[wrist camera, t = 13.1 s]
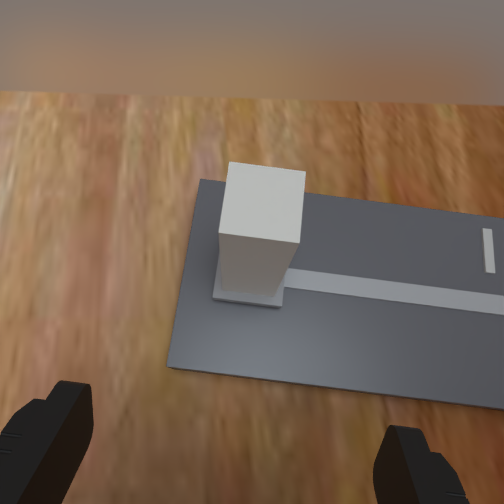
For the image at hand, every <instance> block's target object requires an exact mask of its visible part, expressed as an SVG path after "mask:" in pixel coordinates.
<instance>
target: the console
mask: <svg viewBox="0 0 504 504" xmlns="http://www.w3.org/2000/svg"><path fill="white" fill-rule="evenodd" d="M225 187H226V182H221V181H214V180H206V179H200V182H199V188H198V194H197V199H196V205H195V210H194V216H193V221H192V227H191V232H190V238H189V243H188V249H187V254H186V260H185V266H184V271H183V277H182V282H181V288H180V293H179V299H178V304H177V310H176V315H175V321H174V326H173V332H172V338H171V343H170V349H169V354H168V360H167V365H166V366H167V367H169V368H172V369H177V370H185V371H193V372H201V373H209V374H217V375H225V376H233V377H241V378H249V379H257V380H265V381H273V382H281V383H288V384H296V385H304V386H312V387H320V388H328V389H336V390H344V391H352V392H360V393H368V394H376V395H384V396H392V397H400V398H408V399H416V400H424V401H432V402H440V403H448V404H456V405H463V406H471V407H479V408H487V409H495V410H503V411H504V218H496V217H488V216H481V215H473V214H465V213H458V212H450V211H443V210H435V209H427V208H420V207H412V206H404V205H397V204H389V203H382V202H374V201H366V200H359V199H351V198H343V197H336V196H328V195H321V194H313V193H305V192H304V198H303V210H302V221H301V233H300V243H299V246H298V248H297V250H296V252H295V254H294V256H293V258H292V260H291V262H290V265H289V267H288V269H287V271H286V273H285V280H284V291H283V301H282V307H281V308H274V307H266V306H258V305H250V304H243V303H235V302H227V301H219V300H213V298H212V297H213V291H214V284H215V278H216V271H217V265H218V258H219V251H220V249H219V234H218V232H219V226H220V219H221V213H222V206H223V200H224V194H225Z"/></svg>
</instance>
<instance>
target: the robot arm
mask: <svg viewBox="0 0 504 504" xmlns="http://www.w3.org/2000/svg"><path fill="white" fill-rule="evenodd" d="M93 426H94V422H93V407H92V392H91V386H90V384H85V383H78V382H70V381H63V380H61V381H59V382H58V383H57V384H56V385H55V387H54V388H53V390H52V391H51V393H50V394H49V396H48V397H47V399H46V400H42V399H33V400H32V401H30V402H29V403H28V404H26V405H25V406H24V407H22V408H21V409H20V410H18V411H17V412H16V413H15V414H14V415H13V416H12V418H11V419H10V420H9V422H8V423H7V425H6V426H5V427H4V429H3V430H2V431H1V435H0V504H62V502H63V499H64V497H65V495H66V493H67V491H68V489H69V487H70V485H71V483H72V481H73V478H74V476H75V474H76V472H77V470H78V468H79V466H80V464H81V462H82V460H83V458H84V455H85V453H86V451H87V449H88V447H89V444H90V441H91V438H92V433H93ZM373 483H374V489H375V494H376V498H377V503H378V504H470V503H469V501H468V499H466V497H465V495H466V494H465V492H464V489H463V487H462V485H461V482H460V480H459V478H458V475H457V473H456V472H455V470H454V469H453V468H452V467H451V466H450V464H449V463H448V462H447V461H446V459H445V458H444V457H443V456H442V455H441V453H435V452H430V450H429V447H428V444H427V442H426V439H425V437H424V434H423V433H422V431H421V430H420V429H418V428H410V427H403V426H395V425H390V426H389V427H388V428H387V431H386V433H385V436H384V438H383V441H382V444H381V446H380V449H379V451H378V454H377V457H376V459H375V462H374V467H373Z"/></svg>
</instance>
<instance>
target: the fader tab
mask: <svg viewBox="0 0 504 504" xmlns="http://www.w3.org/2000/svg"><path fill="white" fill-rule="evenodd" d="M305 175H306V172H305V171H297V170H290V169H282V168H274V167H267V166H259V165H252V164H244V163H236V162H229V168H228V174H227V181H226V187H225V194H224V200H223V206H222V213H221V219H220V226H219V232H218V234H219V249H220V251H219V258H218V265H217V271H216V278H215V284H214V291H213V297H212V298H213V300H219V301H227V302H235V303H243V304H250V305H258V306H266V307H274V308H281V307H282V301H283V291H284V280H285V273H286V271H287V269H288V267H289V265H290V262H291V260H292V258H293V256H294V254H295V252H296V250H297V248H298V246H299V243H300V233H301V221H302V210H303V198H304V186H305Z"/></svg>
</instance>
